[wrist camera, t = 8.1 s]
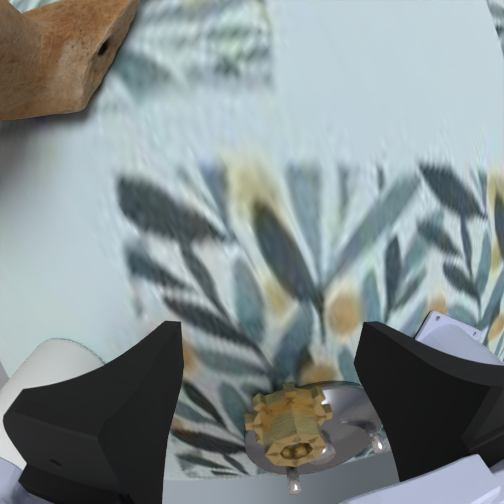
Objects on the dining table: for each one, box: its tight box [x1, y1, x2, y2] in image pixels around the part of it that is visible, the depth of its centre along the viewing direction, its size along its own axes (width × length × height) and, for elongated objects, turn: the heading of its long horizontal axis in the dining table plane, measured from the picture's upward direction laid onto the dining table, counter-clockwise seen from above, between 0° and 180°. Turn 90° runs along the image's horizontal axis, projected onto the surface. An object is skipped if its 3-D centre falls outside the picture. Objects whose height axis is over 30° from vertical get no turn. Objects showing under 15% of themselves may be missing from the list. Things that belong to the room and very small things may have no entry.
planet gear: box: [244, 382, 333, 467], centre depth 21 cm, size 7×7×4 cm
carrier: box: [245, 381, 387, 495], centre depth 24 cm, size 14×14×5 cm
